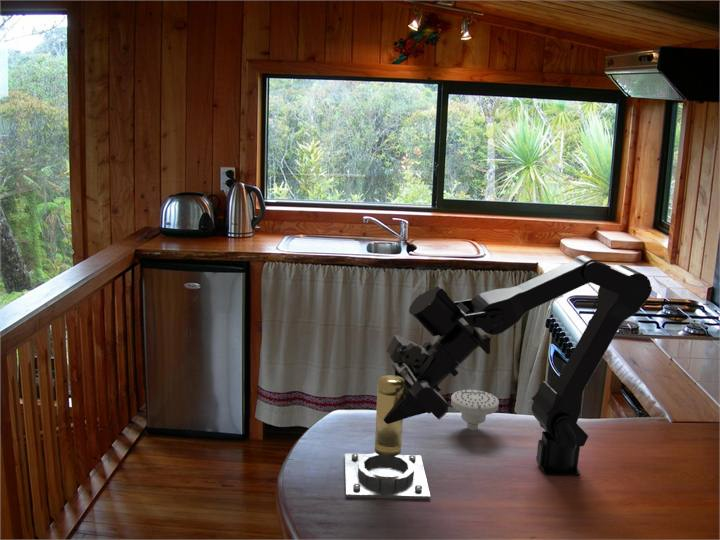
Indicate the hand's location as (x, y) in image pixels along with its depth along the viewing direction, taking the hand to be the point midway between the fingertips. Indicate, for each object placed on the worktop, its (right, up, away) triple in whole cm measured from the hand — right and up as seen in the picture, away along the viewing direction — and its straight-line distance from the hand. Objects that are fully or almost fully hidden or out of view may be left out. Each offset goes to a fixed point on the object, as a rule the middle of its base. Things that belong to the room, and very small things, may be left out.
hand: (382, 415), depth 131 cm
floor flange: (+1, -11, +3) cm, 12 cm away
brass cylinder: (+1, -6, +2) cm, 7 cm away
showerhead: (+19, -7, +23) cm, 31 cm away
